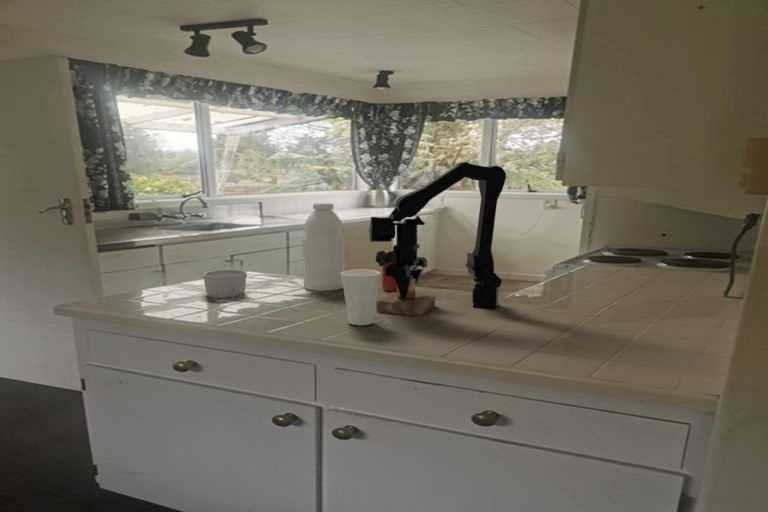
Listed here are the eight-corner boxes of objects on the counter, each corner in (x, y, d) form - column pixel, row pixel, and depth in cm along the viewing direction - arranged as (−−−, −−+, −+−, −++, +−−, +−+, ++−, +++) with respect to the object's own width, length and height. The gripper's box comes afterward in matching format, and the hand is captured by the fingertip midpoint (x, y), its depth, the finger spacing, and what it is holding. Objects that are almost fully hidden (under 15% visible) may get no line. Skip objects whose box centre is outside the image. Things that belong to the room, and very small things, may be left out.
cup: (343, 318, 139) (342, 269, 137) (381, 318, 138) (381, 269, 137) (339, 328, 129) (338, 276, 127) (380, 329, 129) (380, 276, 127)
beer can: (402, 292, 170) (402, 255, 168) (382, 291, 170) (382, 255, 169) (402, 287, 177) (402, 252, 175) (382, 287, 177) (382, 252, 175)
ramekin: (256, 293, 169) (255, 271, 167) (223, 301, 158) (222, 278, 156) (228, 288, 176) (227, 268, 175) (194, 296, 165) (193, 274, 164)
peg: (417, 305, 150) (417, 278, 149) (411, 310, 145) (411, 281, 144) (400, 304, 152) (401, 276, 151) (394, 308, 147) (394, 280, 146)
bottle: (304, 283, 184) (302, 202, 180) (344, 282, 185) (343, 202, 181) (302, 292, 170) (300, 204, 166) (345, 291, 172) (345, 204, 168)
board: (434, 306, 152) (435, 295, 151) (421, 316, 141) (421, 305, 140) (392, 302, 156) (392, 292, 156) (376, 311, 146) (376, 300, 145)
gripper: (392, 236, 157) (392, 287, 160) (366, 243, 140) (366, 301, 143) (427, 238, 153) (427, 290, 155) (405, 245, 136) (405, 305, 138)
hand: (406, 296), depth 148 cm, fingers closed on peg, 5 cm apart
